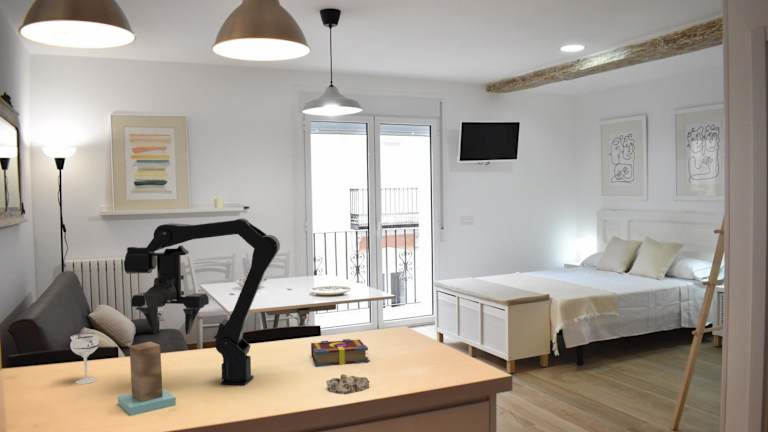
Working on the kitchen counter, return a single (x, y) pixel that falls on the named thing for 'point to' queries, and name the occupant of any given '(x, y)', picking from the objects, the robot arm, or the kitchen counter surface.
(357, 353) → the decorative book
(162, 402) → the ceramic plinth
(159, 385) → the walnut post
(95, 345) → the wineglass
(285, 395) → the kitchen counter surface
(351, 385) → the mineral rock
